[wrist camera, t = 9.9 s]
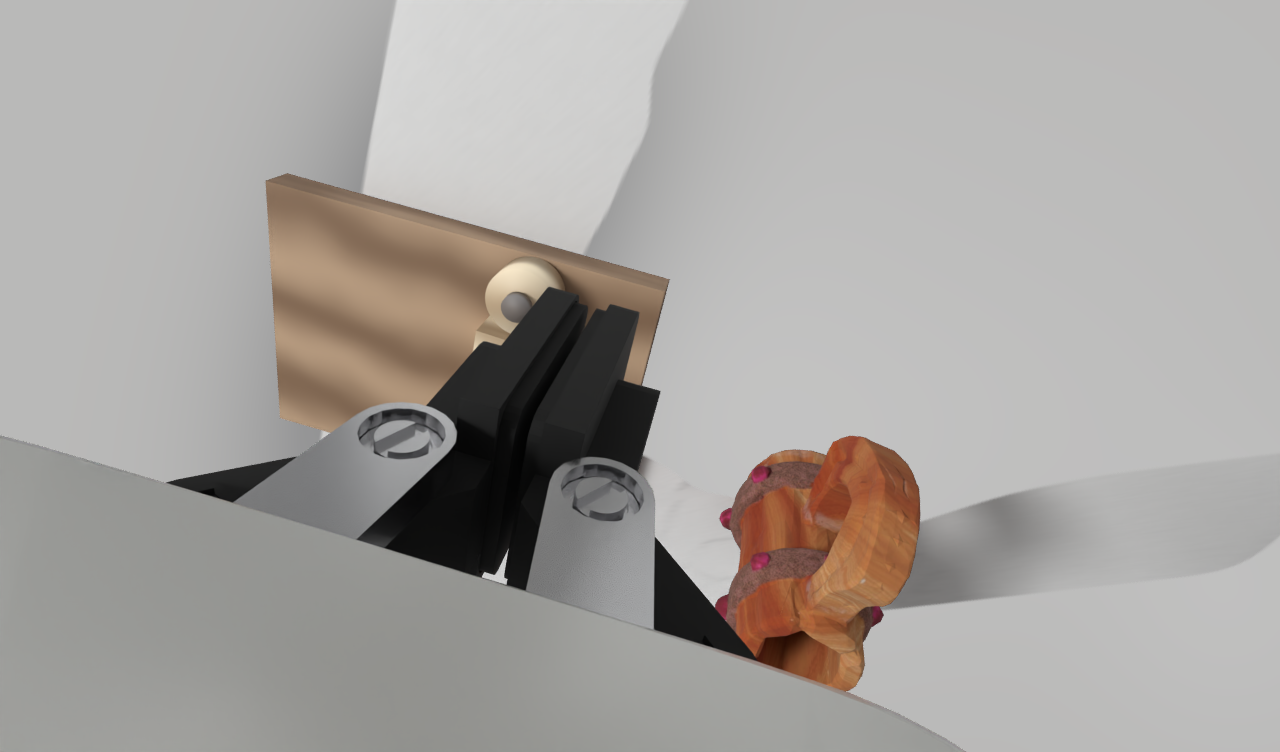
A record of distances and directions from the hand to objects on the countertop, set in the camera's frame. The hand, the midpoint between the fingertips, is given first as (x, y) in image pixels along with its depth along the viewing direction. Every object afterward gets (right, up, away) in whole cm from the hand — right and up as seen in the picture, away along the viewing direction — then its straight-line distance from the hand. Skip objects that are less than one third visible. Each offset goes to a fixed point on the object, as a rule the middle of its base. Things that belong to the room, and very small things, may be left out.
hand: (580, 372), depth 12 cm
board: (-11, +2, +32) cm, 34 cm away
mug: (+12, -5, +32) cm, 35 cm away
